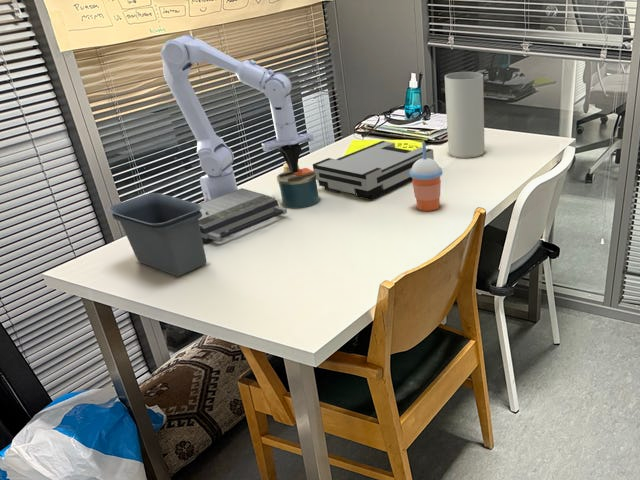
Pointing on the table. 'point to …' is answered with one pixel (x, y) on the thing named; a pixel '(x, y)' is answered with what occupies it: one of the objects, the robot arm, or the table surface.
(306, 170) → the slider
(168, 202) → the storage bin
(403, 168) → the game console
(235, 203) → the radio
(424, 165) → the cup with straw
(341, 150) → the table surface
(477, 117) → the cylinder vase
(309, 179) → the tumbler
